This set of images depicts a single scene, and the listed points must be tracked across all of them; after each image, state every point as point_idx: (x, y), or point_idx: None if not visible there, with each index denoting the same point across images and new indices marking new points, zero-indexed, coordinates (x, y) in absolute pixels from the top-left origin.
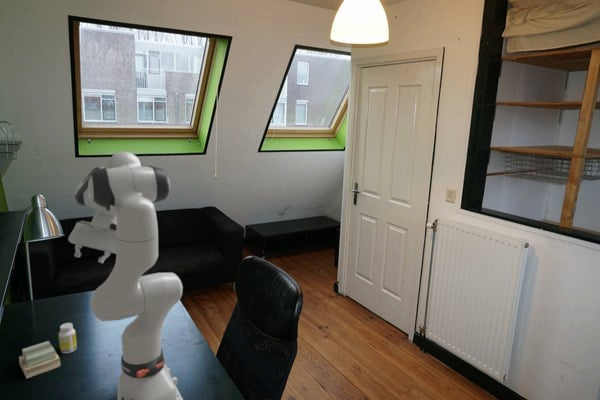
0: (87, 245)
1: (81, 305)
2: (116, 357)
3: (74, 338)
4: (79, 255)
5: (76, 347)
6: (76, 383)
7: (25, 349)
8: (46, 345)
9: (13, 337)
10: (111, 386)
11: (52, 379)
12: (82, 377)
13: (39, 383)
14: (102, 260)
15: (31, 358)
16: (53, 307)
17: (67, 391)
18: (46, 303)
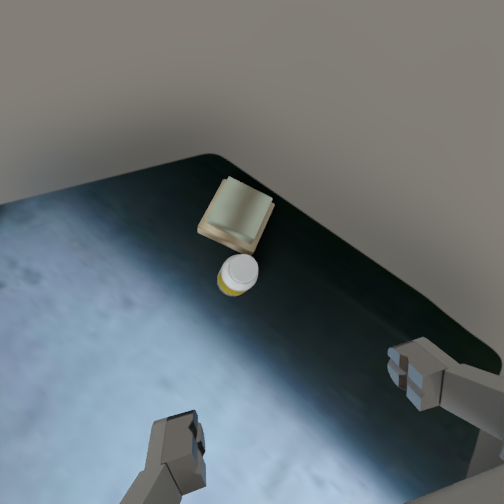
0: (444, 489)
1: (388, 451)
2: (104, 300)
3: (220, 279)
4: (401, 373)
5: (219, 287)
6: (121, 203)
7: (266, 199)
8: (241, 224)
9: (366, 269)
10: (39, 217)
11: (176, 198)
12: (125, 220)
13: (188, 184)
14: (153, 444)
15: (226, 181)
16: None
17: (119, 182)
18: None
